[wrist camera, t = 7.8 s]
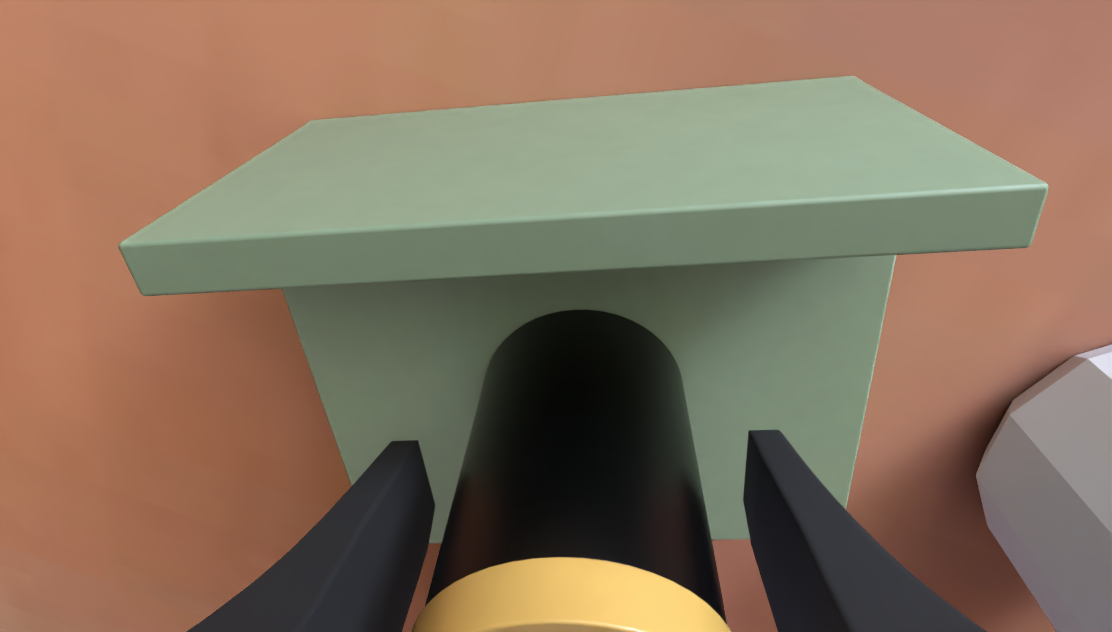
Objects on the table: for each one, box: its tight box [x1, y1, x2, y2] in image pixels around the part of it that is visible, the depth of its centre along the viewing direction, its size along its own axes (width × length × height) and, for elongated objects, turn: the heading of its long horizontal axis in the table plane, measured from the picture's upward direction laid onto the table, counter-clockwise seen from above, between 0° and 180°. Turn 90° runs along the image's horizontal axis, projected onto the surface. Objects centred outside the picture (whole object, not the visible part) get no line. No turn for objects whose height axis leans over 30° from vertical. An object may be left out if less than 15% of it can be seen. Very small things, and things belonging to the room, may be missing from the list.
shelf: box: [119, 76, 1048, 543], centre depth 16 cm, size 12×14×8 cm
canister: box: [412, 310, 731, 632], centre depth 13 cm, size 5×5×8 cm
